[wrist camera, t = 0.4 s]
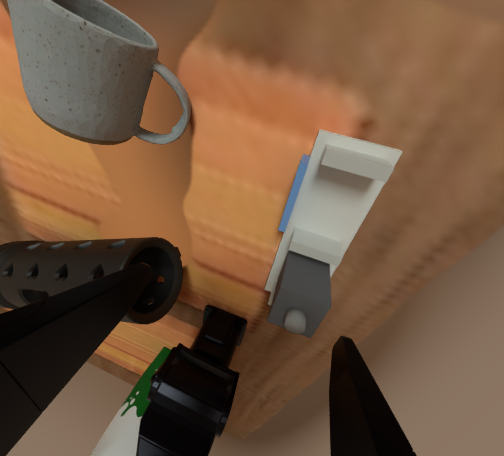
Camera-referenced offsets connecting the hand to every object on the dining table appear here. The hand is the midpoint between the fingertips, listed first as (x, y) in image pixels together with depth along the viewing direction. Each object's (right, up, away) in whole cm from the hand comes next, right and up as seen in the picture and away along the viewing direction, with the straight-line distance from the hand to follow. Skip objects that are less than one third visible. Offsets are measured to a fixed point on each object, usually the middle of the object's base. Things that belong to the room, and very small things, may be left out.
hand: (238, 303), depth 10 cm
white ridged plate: (+7, +3, +12) cm, 14 cm away
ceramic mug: (-9, +16, +9) cm, 21 cm away
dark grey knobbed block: (+6, -1, +13) cm, 14 cm away
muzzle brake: (-21, 0, +23) cm, 31 cm away
